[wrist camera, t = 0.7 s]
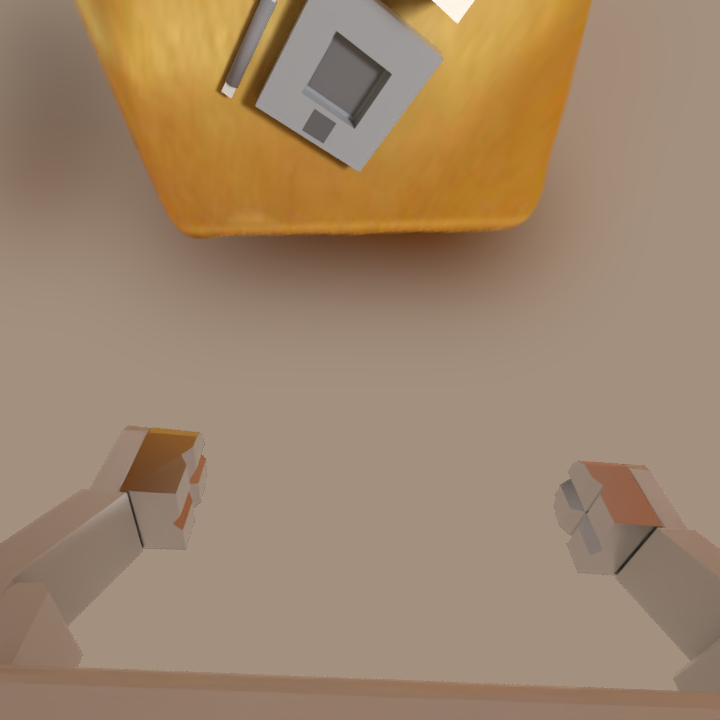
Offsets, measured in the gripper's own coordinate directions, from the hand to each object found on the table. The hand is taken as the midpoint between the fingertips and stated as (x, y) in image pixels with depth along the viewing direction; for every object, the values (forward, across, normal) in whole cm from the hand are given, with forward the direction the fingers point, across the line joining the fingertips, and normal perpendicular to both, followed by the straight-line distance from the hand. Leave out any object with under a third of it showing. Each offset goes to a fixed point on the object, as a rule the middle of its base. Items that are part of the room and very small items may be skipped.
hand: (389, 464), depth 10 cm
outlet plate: (+45, +2, -2) cm, 45 cm away
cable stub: (+44, +11, -4) cm, 45 cm away
